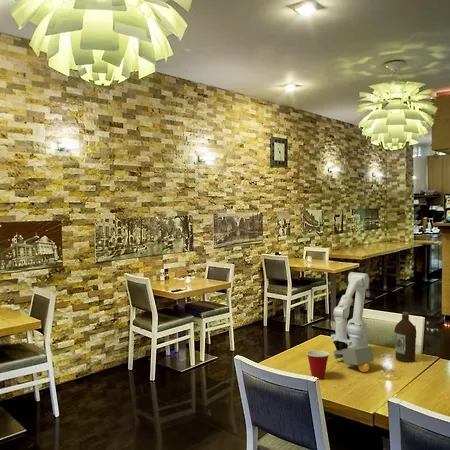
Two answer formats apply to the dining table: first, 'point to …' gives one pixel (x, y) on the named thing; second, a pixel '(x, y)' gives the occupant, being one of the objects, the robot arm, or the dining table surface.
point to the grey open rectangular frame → (355, 355)
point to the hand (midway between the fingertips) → (341, 355)
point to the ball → (363, 367)
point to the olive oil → (405, 339)
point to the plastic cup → (318, 363)
